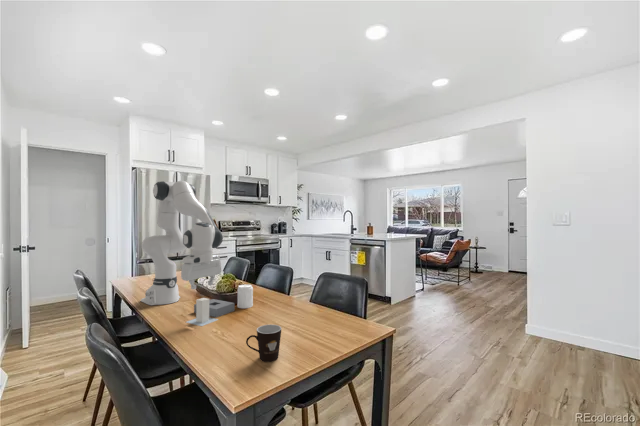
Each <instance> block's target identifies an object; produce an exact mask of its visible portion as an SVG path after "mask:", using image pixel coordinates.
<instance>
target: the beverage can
mask: <svg viewBox="0 0 640 426" xmlns="http://www.w3.org/2000/svg"><path fill="white" fill-rule="evenodd" d="M253 296H254V287H253V285H252V284H239V285H238V287H237V308H239V309H250V308H252V307H253V305H254V297H253Z"/></svg>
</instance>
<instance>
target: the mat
mask: <svg viewBox="0 0 640 426" xmlns="http://www.w3.org/2000/svg"><path fill="white" fill-rule="evenodd" d="M216 321H219V319H218V318H216V317H211V316H209V321H206V322H203V323H201V322H196V318H193V319H191V320H190V319H189V320H187V321H185V323H186V324H187V323H188V324H191V325H195V326H198V327H199V326H200V327H203V326H206V325H209V324H212V323H214V322H216Z"/></svg>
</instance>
